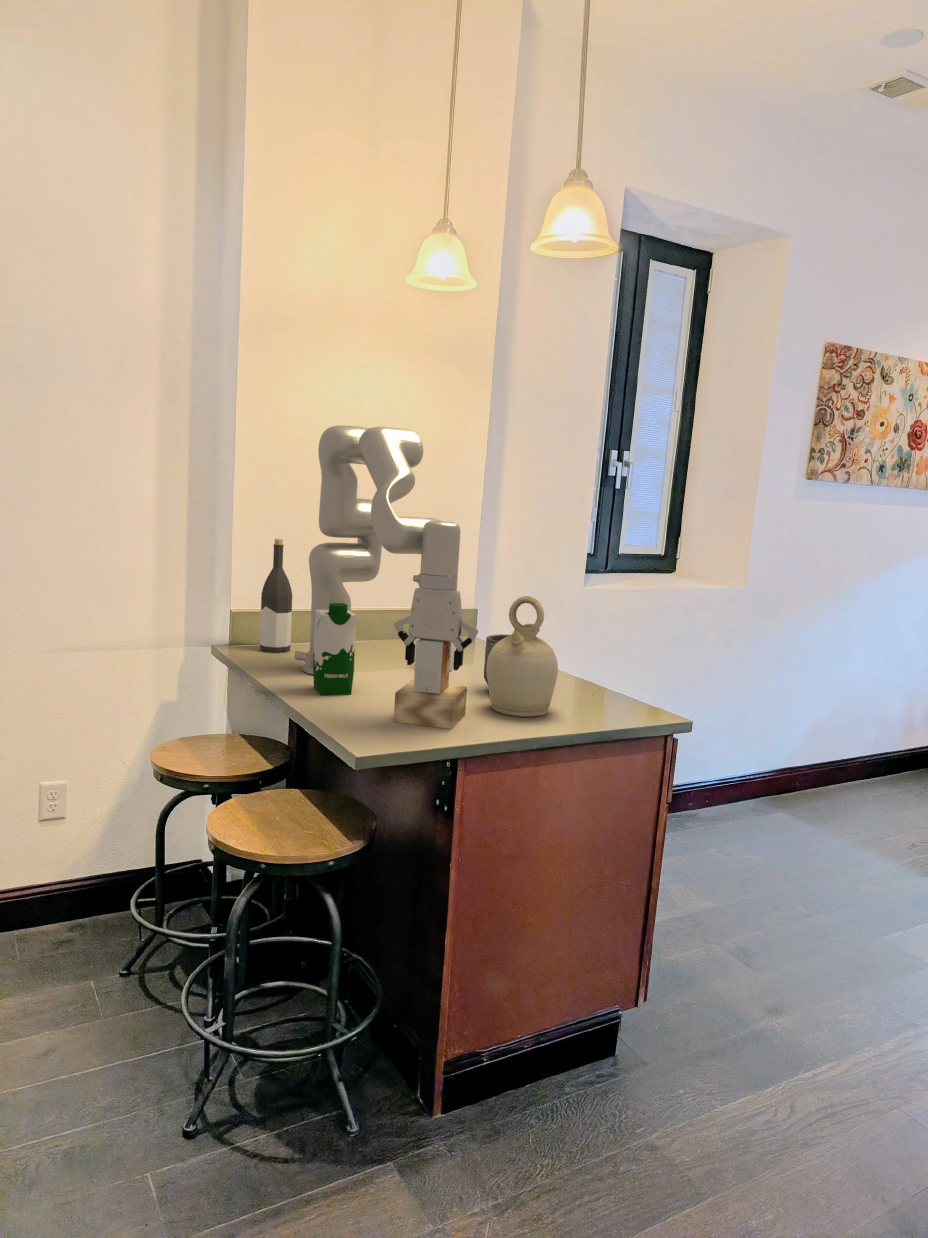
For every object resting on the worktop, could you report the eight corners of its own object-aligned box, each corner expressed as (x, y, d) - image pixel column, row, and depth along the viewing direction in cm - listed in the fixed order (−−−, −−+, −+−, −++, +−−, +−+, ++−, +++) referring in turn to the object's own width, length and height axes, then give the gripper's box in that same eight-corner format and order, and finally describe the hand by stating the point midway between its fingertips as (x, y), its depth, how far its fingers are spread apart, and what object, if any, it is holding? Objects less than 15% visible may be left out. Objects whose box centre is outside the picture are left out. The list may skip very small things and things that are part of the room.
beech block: (393, 721, 176) (395, 692, 175) (410, 707, 188) (412, 680, 187) (451, 729, 174) (453, 699, 173) (465, 714, 185) (467, 686, 184)
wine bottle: (296, 650, 239) (300, 540, 235) (275, 654, 232) (279, 540, 228) (274, 645, 243) (278, 537, 239) (253, 649, 237) (256, 537, 232)
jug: (511, 697, 203) (519, 589, 199) (567, 711, 193) (577, 599, 189) (469, 708, 191) (477, 593, 187) (527, 724, 181) (537, 603, 177)
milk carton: (317, 696, 192) (320, 605, 189) (308, 686, 200) (312, 599, 197) (356, 695, 195) (360, 606, 192) (346, 685, 204) (350, 600, 201)
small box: (439, 695, 176) (443, 643, 174) (412, 692, 177) (415, 640, 175) (449, 686, 183) (452, 636, 182) (423, 683, 185) (426, 634, 183)
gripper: (391, 581, 175) (387, 665, 177) (476, 589, 171) (470, 675, 174) (402, 577, 182) (398, 658, 185) (484, 585, 178) (478, 667, 181)
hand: (433, 666), depth 179 cm, fingers open, 9 cm apart
